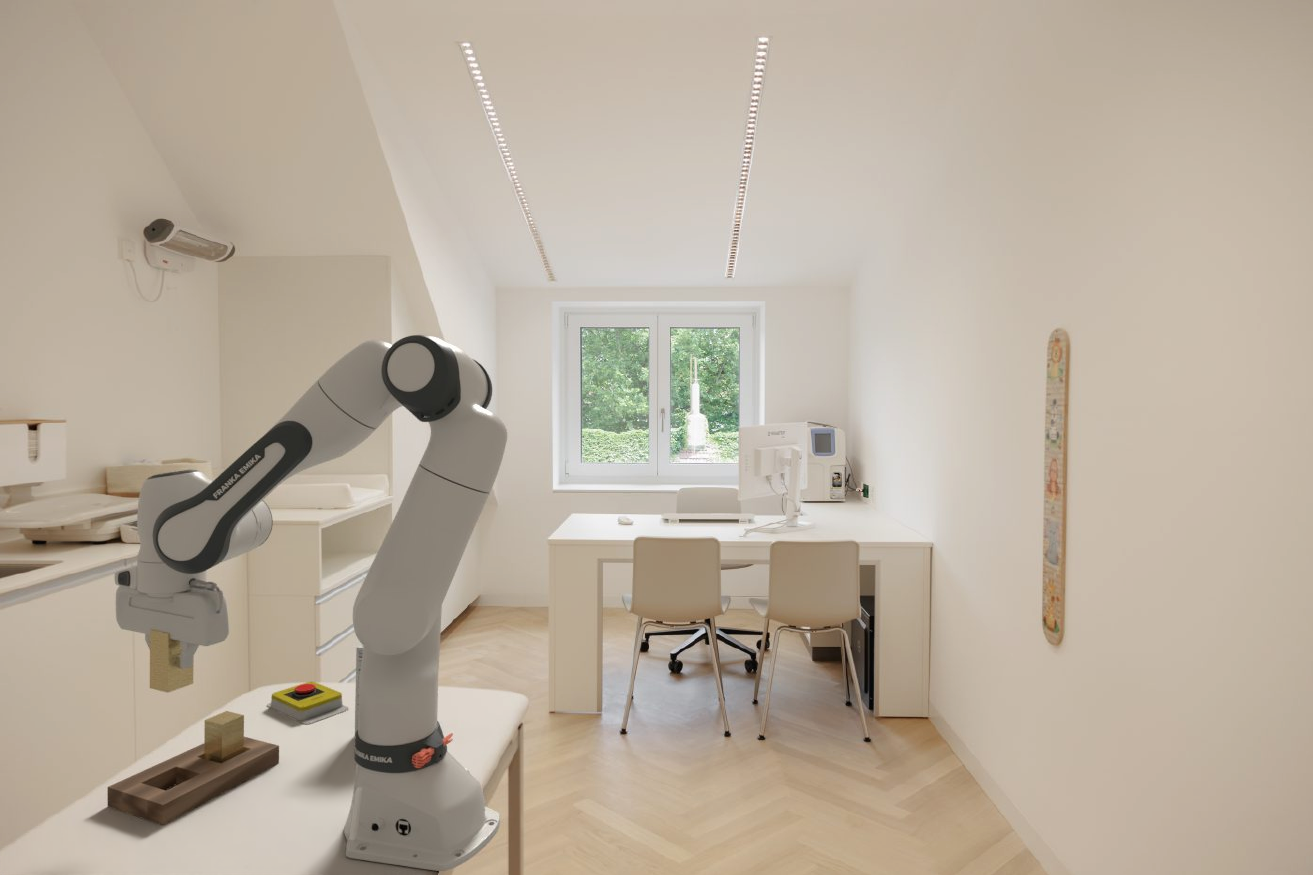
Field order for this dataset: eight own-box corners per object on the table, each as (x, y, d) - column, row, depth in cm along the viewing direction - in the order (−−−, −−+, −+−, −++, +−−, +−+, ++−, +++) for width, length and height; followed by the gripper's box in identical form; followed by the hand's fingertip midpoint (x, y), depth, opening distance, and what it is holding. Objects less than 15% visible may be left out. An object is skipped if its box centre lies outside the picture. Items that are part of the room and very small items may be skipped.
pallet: (278, 762, 123) (279, 745, 123) (162, 825, 104) (162, 804, 104) (227, 748, 127) (228, 732, 127) (107, 806, 109) (107, 787, 109)
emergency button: (308, 673, 153) (351, 690, 145) (308, 693, 154) (350, 711, 145) (264, 686, 146) (307, 705, 137) (264, 707, 146) (306, 728, 138)
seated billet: (243, 767, 121) (243, 715, 121) (221, 778, 118) (222, 724, 117) (226, 762, 123) (226, 710, 122) (204, 773, 119) (204, 720, 119)
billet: (193, 683, 112) (193, 626, 112) (167, 692, 108) (168, 633, 108) (175, 679, 114) (175, 622, 113) (149, 688, 110) (150, 629, 109)
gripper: (240, 579, 110) (239, 668, 110) (148, 564, 117) (147, 648, 117) (201, 588, 104) (200, 683, 104) (106, 572, 111) (106, 660, 111)
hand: (172, 664), depth 111 cm, fingers closed on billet, 4 cm apart
